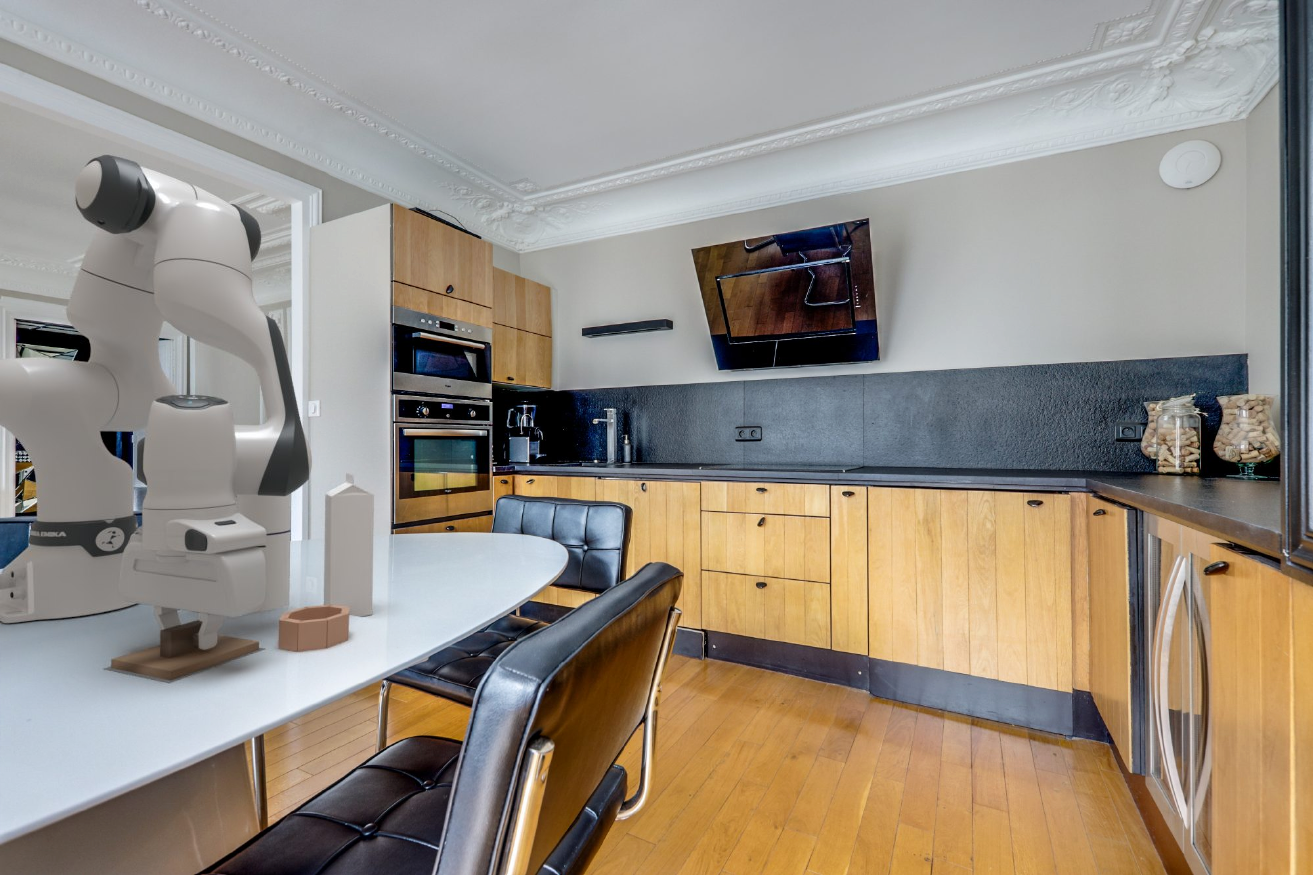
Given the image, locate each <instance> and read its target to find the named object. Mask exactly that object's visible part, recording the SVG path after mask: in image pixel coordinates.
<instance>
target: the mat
mask: <svg viewBox="0 0 1313 875" xmlns="http://www.w3.org/2000/svg"><path fill="white" fill-rule="evenodd" d="M264 650H266V648H264V647H259V650H256V651H253V652H250V653H248V654H245V655H242V656H239V657H236V658H233V659H231V660H228V661H225V662H222V663H219V664H216V665H214V666H211V667H208V668H205V669H202V670H199V671H196V672H194V673H191V674H188V675H185V676H182V677H179V678H177V679H174V680H167V679H162V678H157V677H152V676H148V675H143V674H138V673H133V672H129V671H124V670H119V669H114V668H111V666H108V667H104V668H103V670H104V671H110V672H114V673H118V674H125V675H129V676H133V677H138V678H141V679H146V680H152V681H157V682H161V683H166V684H172V683H174V682H177V681H180V680H183V679H185V678H188V677H191V676H193V675H196V674H200V673H203V672H205V671H209V670H210V669H211V670H212V669H213V668H217V667H219V666H222V665H225V664H228V663H230V662H233V661H237V660H239V659H241V658H244V657H247V656H250V655H253V654H255V653H259V652H261V651H264Z"/></svg>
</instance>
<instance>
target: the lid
mask: <svg viewBox="0 0 1313 875" xmlns="http://www.w3.org/2000/svg"><path fill="white" fill-rule="evenodd" d="M202 622H203V621H199V619H197V620H194V621H190V622H186V623H181V625H179V626H175V627H171V628H168V629H164V630H161V629H160V634H159V637H160V638H159V639H160V640H159V642H160V643H159V644H158V645H155V646H151V647H148V648H144V649H141V650H138V651H134V652H131V653H127V654H125V655H124V654H123V655H121V656H118V657H114V658H111V661H110V667H111V668H114V669H119V670H124V671H129V672H133V673H138V674H143V675H148V676H152V677H157V678H162V679H167V680H174V679H177V678H179V677H182V676H185V675H188V674H191V673H194V672H196V671H199V670H202V669H205V668H208V667H211V666H214V665H216V664H219V663H222V662H225V661H228V660H231V659H233V658H236V657H239V656H242V655H245V654H248V653H250V652H253V651H256V650H259V648H260V641H258V640H252V639H246V638H239V637H235V636H229V635H222V634H217V644H216V646H214V647H212V648H209V649H206V650H203V649H198V648H194V646H193V643H194V640H193V634H196V633H199V631H200V628H201V625H202Z"/></svg>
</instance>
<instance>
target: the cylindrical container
mask: <svg viewBox="0 0 1313 875" xmlns="http://www.w3.org/2000/svg"><path fill="white" fill-rule="evenodd" d="M291 509H292V493H291V494H289V495H287V496H262V495H258V494H250V495H236V512H238V513H240V514H242V515H243V516H244V517H246V518H247V519H249V520H251V521H253V522H254V523H256V524H258V525H260V526H262V527H264V528H265V530H266V534H267V536H266V542H265V544H263V545H259V546H256V547H258V548H260V549H261V550H262V552H263V554H264V557H265V563H266V589H265V599H264V602H263V604H262V605H261V607H260V608H259V610H257V611H255V612H254V613H261V612H267V611H272V610H273V611H274V610H277V609H281V608H284V607H287V608H290V586H291V584H290V582H291V581H290V580H291V526H292V525H291V523H292V522H291V521H292V520H291V517H292V510H291Z"/></svg>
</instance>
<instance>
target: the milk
mask: <svg viewBox="0 0 1313 875" xmlns="http://www.w3.org/2000/svg"><path fill="white" fill-rule="evenodd" d="M354 478H355V476H354V474H352V473H349V472H346V473H345V482H344V483H341V484H339V485H338V486H336V487H334V488H332V489H331V490H328V491H327V492H325V495H324V496H325V498H324V499H325V500H324V509H325V510H324V554H323V555H324V559H323V560H324V565H323V566H324V567H323V605H338V606H345V607H350V611H349V616H351V617H352V616H353V617H359V618H360V617H361V618H362V617H366V616H372V615H373V595H374V594H373V593H374V588H373V587H374V586H373V585H374V583H373V582H374V580H373V579H374V574H373V573H374V523H375V522H374V518H375V513H374V512H375V511H374V510H375V506H374V505H375V503H374V502H375V495H374V494H373V493H372V492H370V491H368V490H365V489H364V488H361V487H359V486H357V485H355V484H354Z"/></svg>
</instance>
